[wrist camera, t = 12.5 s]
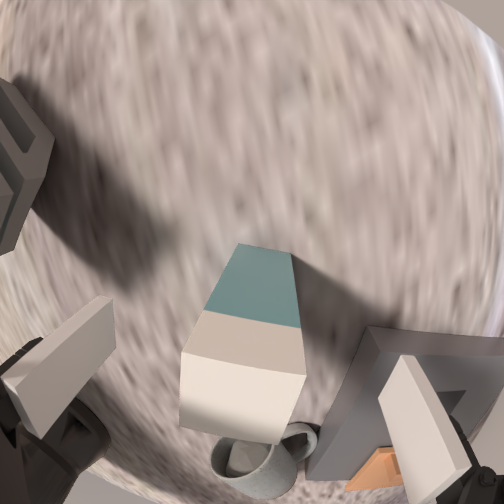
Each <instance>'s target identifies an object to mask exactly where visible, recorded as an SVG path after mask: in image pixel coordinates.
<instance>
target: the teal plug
mask: <svg viewBox="0 0 504 504" xmlns="http://www.w3.org/2000/svg"><path fill="white" fill-rule="evenodd" d="M306 376H307V374H306V365H305V356H304V348H303V340H302V332H301V324H300V316H299V309H298V301H297V294H296V287H295V280H294V273H293V266H292V260H291V253H286V252H281V251H276V250H270V249H265V248H260V247H255V246H249V245H244V244H239V243H238V245H237V247H236V249H235V251H234V253H233V255H232V257H231V258H230V260H229V262H228V264H227V266H226V268H225V270H224V272H223V273H222V275H221V277H220V279H219V281H218V283H217V285H216V287H215V289H214V290H213V292H212V294H211V296H210V298H209V300H208V302H207V304H206V306H205V308H204V310H203V311H202V313H201V315H200V317H199V319H198V321H197V323H196V325H195V327H194V329H193V331H192V333H191V335H190V336H189V338H188V340H187V342H186V344H185V346H184V348H183V350H182V354H181V375H180V407H179V426H181V427H185V428H188V429H192V430H196V431H200V432H205V433H209V434H214V435H218V436H223V437H228V438H234V439H239V440H245V441H252V442H258V443H266V444H274V445H278V444H279V442H280V440H281V438H282V435H283V433H284V431H285V428H286V426H287V424H288V421H289V419H290V417H291V414H292V412H293V409H294V407H295V404H296V402H297V399H298V397H299V394H300V392H301V389H302V387H303V384H304V381H305V379H306Z"/></svg>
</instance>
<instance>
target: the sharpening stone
mask: <svg viewBox="0 0 504 504" xmlns="http://www.w3.org/2000/svg"><path fill="white" fill-rule="evenodd" d="M54 140H55V137H54V135H53V134H52V133H51V132H50V130H49V129H48V128H47V127H46V125H45V124H44V123H43V122H42V120H41V119H40V118H39V117H38V115H37V114H36V113H35V112H34V110H33V109H32V108H31V106H30V105H29V104H28V102H27V101H26V100H25V98H24V97H23V96H22V94H21V93H20V92H19V90H18V89H17V88H16V86H14V85H13V84H11V83H9V82H7V81H5V80H4V79H2V78H0V256H1V255H3V254H6V253H8V252H10V251H13V250H14V248H15V245H16V242H17V240H18V237H19V234H20V232H21V229H22V227H23V224H24V222H25V219H26V217H27V214H28V212H29V210H30V208H31V205H32V203H33V201H34V199H35V197H36V194H37V192H38V190H39V188H40V186H41V184H42V182H43V180H44V178H45V175H46V170H47V166H48V162H49V158H50V155H51V151H52V147H53V144H54Z"/></svg>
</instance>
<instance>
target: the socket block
mask: <svg viewBox="0 0 504 504" xmlns="http://www.w3.org/2000/svg"><path fill="white" fill-rule="evenodd" d="M401 355H411V356H415V358H416V360H417V361H418V363H419V365H420V366H421V368H422V370H423V371H424V373H425V375H426V377H427V378H428V380H429V382H430V384H431V385H432V387H433V389H434V391H435V392H437V393H436V394H437V396H438V398H439V400H440V402H441V404H442V406H443V407H444V409H445V411H446V413H447V415H452V416H453V417H454V418H455V419H456V420H457V421H458V422H459V424H460V426H461V428H462V430H463V434H465V436H466V437H467V436H468V435H469V433H470V432H471V431H472V430H473V428H474V427H475V426H476V425H477V423H478V422H479V421H480V419H481V418H482V417H483V415H484V414H485V413H486V411H487V410H488V409H489V407H490V406H491V404H492V403H493V401H494V400H495V398H496V397H497V395H498V394H499V392H500V391H501V389H502V388H503V386H504V338H497V337H479V336H464V335H451V334H439V333H428V332H418V331H409V330H400V329H391V328H383V327H375V326H367V327H366V330H365V332H364V335H363V337H362V340H361V342H360V345H359V347H358V350H357V352H356V354H355V357H354V359H353V361H352V364H351V366H350V368H349V371H348V373H347V375H346V377H345V379H344V382H343V384H342V386H341V388H340V390H339V392H338V394H337V396H336V398H335V400H334V403H333V405H332V407H331V408H330V410H329V412H328V414H327V416H326V418H325V420H324V422H323V424H322V426H321V428H320V429H319V431H318V433H317V439H318V441H317V445H316V448H315V449H314V451H313V452H312V453H311V454H310V455H309V456H308V457H306V458H305V478H306V480H313V481H338V480H351V479H352V478H353V477H354V476H355V475H356V474H357V472H358V471H359V470H360V469H361V468H362V467H363V466H364V464H365V463H366V462H367V461H368V460H369V458H370V457H371V456H372V455H373V453H374V452H375V451H376V450H377V448H384V447H393V444H392V440H391V437H390V434H389V431H388V427H387V424H386V421H385V418H384V415H383V412H382V409H381V406H380V403H379V400H378V397H379V395H380V394H381V392H382V390H383V388H384V386H385V385H386V383H387V381H388V379H389V377H390V375H391V373H392V372H393V370H394V368H395V366H396V364H397V362H398V360H399V358H400V356H401Z"/></svg>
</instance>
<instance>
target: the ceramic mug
mask: <svg viewBox="0 0 504 504" xmlns="http://www.w3.org/2000/svg"><path fill="white" fill-rule="evenodd" d="M299 433H307V436H308V437H307V439H308V442H307V443H306V445H305V446H304V447H302V448H301V449H300V450H299V451H297V452H296V453H294V454H293V455H291V454H290V453H289V452H288V451H287V450H286V448H285V447H284V445H283V444H282V442H281V440H283V439H285V438H287V437H290V436H293V435H296V434H299ZM281 440H280V442H279V444H278V445H274V444H266V443H258V442H252V441H245V440H239V439H234V438H228V437H223V436H220V437H219V438H218V440H217V441H216V442H215V444H214V445H213V447H212V449H211V452H210V456H209V465H210V468H211V470H212V472H213V473H214V475H215V476H216V477H218V478H219V479H221V480H222V481H224V482H226V483H227V484H229V485H230V486H232V487H234V488H235V489H237V490H239V491H240V492H242V493H244V494H246V495H247V496H249V497H252V498H256V499H260V500H270V499H275V498H277V497H280V496H282V495H283V494H285V493H286V492H288V491H289V490H290V489H291V488H292V486H293V485H294V483H295V481H296V478H297V466H296V465H297V463H299V462H300V461H302V460H303V459H305V458H306V457H308V456H309V455H310V454H311V453H312V452H313V451H314V449H315V448H316V445H317V441H318V439H317V435H316V433H315V432H314V431H313V430H312V428H311V427H310V426H309V425H307V424H304V423H294V424H290V425H287V426H286V428H285V431H284V433H283V435H282V438H281Z"/></svg>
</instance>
